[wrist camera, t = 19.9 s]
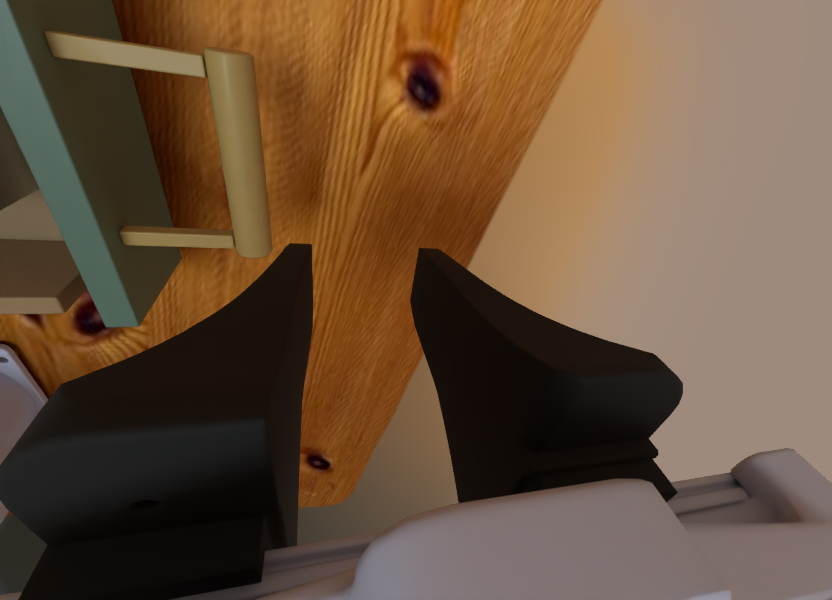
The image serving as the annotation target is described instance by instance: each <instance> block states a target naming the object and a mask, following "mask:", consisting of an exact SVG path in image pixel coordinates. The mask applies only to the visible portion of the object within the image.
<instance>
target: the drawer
mask: <svg viewBox="0 0 832 600" xmlns="http://www.w3.org/2000/svg"><path fill="white" fill-rule="evenodd" d="M203 52H204V54H201V53H195V52H189V51H182V50H176V49H169V48H163V47H156V46H150V45H143V44H137V43H131V42H124V41H123V39H122V36H121V32H120V28H119V25H118V21H117V17H116V14H115V10H114V6H113V3H112V0H0V107H1V109H2V111H3V113H4V115H5V117H6V119H7V122H8V124H9V126H10V128H11V130H12V132H13V134H14V136H15V138H16V140H17V142H18V145H19V147H20V149H21V151H22V153H23V155H24V157H25V159H26V161H27V163H28V165H29V168H30V170H31V172H32V174H33V176H34V178H35V180H36V182H37V184H38V186H39V188H40V189H38V190H37V191H35V192H33V193H31V194H29V195H28V196H26V197H24V198H22V199H20V200H19V201H17V202H15V203H13V204H11V205H10V206H8V207H6V208H4V209H2V210H1V211H0V314H62V313H65V312H66V311H67V310H68V309H69V308H70V307H71V306H72V305H73V303H74V302H75V301H76V300H77V299H78V298H79V297H80V296H81V295H82V294H83V293H84V292H85V290H86V289H88V291H89V293H90V295H91V297H92V299H93V301H94V303H95V306H96V308H97V310H98V312H99V314H100V316H101V318H102V320H103V322H104V324H105V326H106V327H138V326H140V324H141V323H142V321H143V319H144V318H145V316H146V315H147V313H148V311H149V310H150V308H151V307H152V305H153V303H154V302H155V300H156V299H157V297H158V295H159V294H160V292H161V291H162V289H163V288H164V286H165V284H166V283H167V281H168V280H169V278H170V276H171V275H172V273H173V272H174V270H175V268H176V267H177V265H178V264H179V262H180V260H181V259H182V256H181V253H180V249H179V247H197V248H229V249H233V248H235V246H236V250H237V252H238V254H239V255H241V256H243V257H246V258H261V257H265V256H267V255H269V254H270V253H271V252H272V250H273V247H272V237H271V227H270V216H269V206H268V196H267V186H266V176H265V166H264V156H263V146H262V136H261V126H260V115H259V105H258V95H257V85H256V75H255V65H254V57H253V55H251V54H249V53H246V52H241V51H236V50H229V49H222V48H213V47H206V48H204V49H203ZM130 68H136V69H143V70H150V71H157V72H164V73H172V74H179V75H186V76H193V77H200V78H206V77H208V82H209V88H210V94H211V100H212V106H213V112H214V118H215V124H216V130H217V136H218V142H219V148H220V154H221V160H222V166H223V172H224V178H225V184H226V190H227V196H228V202H229V208H230V214H231V220H232V226H233V230H218V229H196V228H174V227H173V223H172V220H171V216H170V212H169V209H168V205H167V201H166V198H165V194H164V190H163V186H162V183H161V179H160V175H159V172H158V168H157V164H156V161H155V157H154V153H153V150H152V146H151V142H150V139H149V135H148V131H147V128H146V124H145V120H144V117H143V113H142V109H141V106H140V102H139V98H138V95H137V91H136V87H135V84H134V80H133V76H132V73H131V69H130Z"/></svg>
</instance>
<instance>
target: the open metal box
mask: <svg viewBox="0 0 832 600" xmlns="http://www.w3.org/2000/svg"><path fill="white" fill-rule="evenodd" d="M38 189H40V188H39V186H38V184H37V182H36V180H35V178H34V176H33V174H32V172H31V170H30V168H29V165H28V163H27V161H26V159H25V157H24V155H23V153H22V151H21V149H20V147H19V145H18V142H17V140H16V138H15V136H14V134H13V132H12V130H11V128H10V126H9V124H8V122H7V119H6V117H5V115H4V113H3V111H2V109H1V107H0V211H1V210H2V209H4V208H6V207H8V206H10V205H11V204H13V203H15V202H17V201H19V200H20V199H22V198H24V197H26V196H28V195H29V194H31V193H33V192H35V191H37V190H38Z"/></svg>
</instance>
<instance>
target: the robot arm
mask: <svg viewBox="0 0 832 600" xmlns="http://www.w3.org/2000/svg"><path fill="white" fill-rule="evenodd" d="M410 302H411V308H412V314H413V319H414V324H415V327H416V330H417V333H418V336H419V339H420V342H421V345H422V348H423V351H424V354H425V357H426V360H427V362H428V365H429V368H430V371H431V374H432V377H433V380H434V383H435V386H436V390H437V393H438V398H439V402H440V406H441V411H442V415H443V420H444V425H445V430H446V434H447V440H448V444H449V449H450V455H451V460H452V466H453V472H454V477H455V483H456V489H457V495H458V501H459V503H458V504H451V505H448V506H444V507H440V508H437V509H433V510H429V511H426V512H422V513H419V514H415V515H411V516H409V517H407V518H405V519H403V520H402V521H400V522H398V523H396V524H394V525H393V526H391V527H389V528H387V529H385V530H383V531H381V532H374V533H369V534H363V535H356V536H351V537H345V538H339V539H333V540H327V541H321V542H316V543H310V544H304V545H298V546H297V520H298V491H299V462H300V437H301V413H302V397H303V388H304V381H305V375H306V368H307V361H308V355H309V348H310V341H311V335H312V328H313V276H312V244H292V243H290V244H289V245H287V246H286V247H285V249H284V250H283V251H282V252H281V254H280V255H279V256H278V257H277V258H276V260H275V261H274V262H273V263H272V264H271V265H270V266H269V267H268V268H267V269H266V271H265V272H264V273H263V274H262V275H261V276H260V277H259V278H258V279H257V280H256V281H255V282H253V283H252V284H251V285H250V286H249V287H248V288H247V289H246V290H245V291H244V292H242V293H241V294H240V295H239V296H238V297H236V298H235V299H234V300H233V301H231V302H230V303H229V304H227V305H226V306H224V307H223V308H222V309H220V310H219V311H217V312H216V313H214V314H213V315H211V316H209V317H208V318H206V319H204V320H203V321H201V322H199V323H197V324H196V325H194V326H192V327H191V328H189V329H187V330H186V331H184V332H182V333H180V334H178V335H176V336H174V337H173V338H171V339H169V340H167V341H165V342H163V343H161V344H159V345H156V346H154V347H152V348H150V349H148V350H146V351H143V352H141V353H139V354H137V355H134V356H132V357H130V358H128V359H125V360H123V361H120V362H118V363H115V364H113V365H110V366H107V367H105V368H102V369H100V370H97V371H95V372H92V373H90V374H87V375H84V376H82V377H79V378H77V379H74V380H71V381H68V382H66V383H63V384H61V386H60V387H59V388H58V389H57V390H56V392H55V393H54V394H53V395H52V396H51V398H50V399H49V400H48V398H47V397H46V396H45V394H44V393H43V391H42V390H41V389H40V387H39V386H38V384H37V383H36V382H35V380H34V379H33V377H32V376H31V375H30V373H29V372H28V370H27V369H26V368H25V366H24V365H23V363H22V362H21V361H20V359H19V358H18V356H17V355H16V354H15V352H14V351H13V349H12V348H11V347H9V346H7V345H4V344H0V524H1V522H2V521H3V520H4V518H5V516H6V515H7V513H8V512H9V511H10V512H11V513H12V514H13V515H14V516H16V517H17V518H18V519H19V520H20V521H21V522H22V523H23V524H25V525H26V526H27V527H28V528H29V529H30V530H32V531H33V532H34V533H35V534H36V535H37V536H38V537H40V538H41V539H42V540H43V541H44V542H45V543H46V544H47V545H48V546H47V547H46V549H45V551H44V553H43V555H42V556H41V558H40V560H39V562H38V564H37V566H36V568H35V569H34V571H33V573H32V575H31V577H30V579H29V581H28V582H27V584H26V586H25V588H24V590H23V592H19V593H13V594H6V595H0V600H832V483H831V482H830V481H828V480H827V479H826V478H825V477H824V476H823V475H822V474H821V473H819V472H818V471H817V470H816V469H815V468H814V467H813V466H812V465H811V464H809V463H808V462H807V461H806V460H805V459H804V458H803V457H802V456H800V455H799V454H798V453H797V452H796V451H795V450H794V449H789V448H785V449H779V450H773V451H766V452H760V453H756V454H753V455H751V456H749V457H747V458H745V459H744V460H742V461H741V462H740V463H738V464H737V465H736V466H735V467H733V468H732V469H731V472H730V473H725V474H719V475H713V476H707V477H701V478H695V479H689V480H684V481H677V482H671V483H670V481H669V480H668V479H667V477H666V476H665V475H664V474H663V473H662V471H661V470H660V468H659V467H658V466H657V464H656V463H655V462H654V460H653V459H652V458H656V456H658V450H657V449H656V448H655V446H654V445H653V444H652V442H651V441H650V440H649V437H650V436H651V435H652V434H653V433H654V432H655V431H656V430H657V429H658V428H659V427H660V425H661V424H662V423H663V422H664V421H665V420H666V419H667V418H668V417H669V416H670V415H671V413H672V412H673V411H674V410H675V408H676V407H677V406H678V404H679V402H680V400H681V397H682V394H683V383H682V382H681V380H680V379H679V378H678V377H677V376H676V374H674V372H673V371H671V370H670V369H669V368H668V367H667V366H666V365H665V364H664V363H663V362H662V361H661V360H660V359H659V358H658V357H657V356H656V355H654V354H653V353H649V352H645V351H642V350H638V349H635V348H631V347H628V346H624V345H620V344H617V343H613V342H609V341H607V340H603V339H601V338H598V337H595V336H592V335H589V334H586V333H583V332H580V331H578V330H575V329H572V328H570V327H568V326H565V325H563V324H560V323H558V322H556V321H553V320H551V319H549V318H547V317H544V316H542V315H540V314H538V313H536V312H534V311H532V310H530V309H528V308H526V307H524V306H522V305H521V304H519V303H517V302H515V301H513V300H511V299H510V298H508V297H506V296H505V295H503V294H502V293H500V292H498V291H497V290H495V289H494V288H492V287H491V286H489V285H488V284H486V283H485V282H483V281H482V280H480V279H479V278H478V277H476V276H475V275H474V274H472V273H471V272H469V271H468V270H467V269H465V268H464V267H463V266H461V265H460V264H459V263H457V262H456V261H455V260H453V259H452V258H451V257H449V256H448V255H447V254H445V253H444V252H442V251H441V250H439V249H429V248H419V252H418V258H417V264H416V269H415V275H414V281H413V287H412V293H411V298H410Z"/></svg>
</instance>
